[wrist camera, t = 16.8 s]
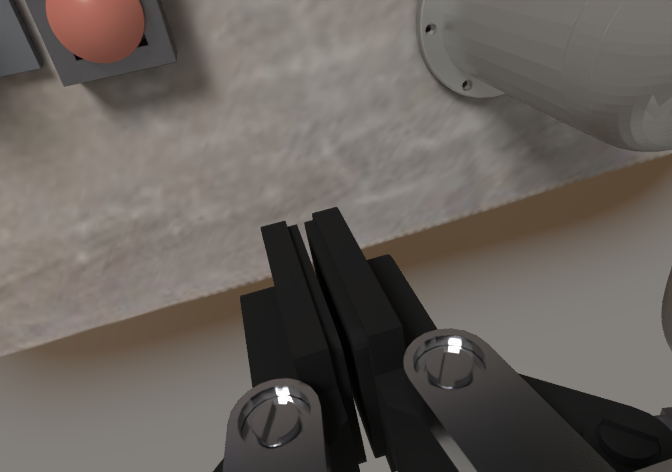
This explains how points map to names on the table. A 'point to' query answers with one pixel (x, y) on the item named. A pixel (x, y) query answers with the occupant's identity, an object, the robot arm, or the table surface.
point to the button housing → (77, 70)
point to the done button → (97, 27)
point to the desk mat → (15, 42)
